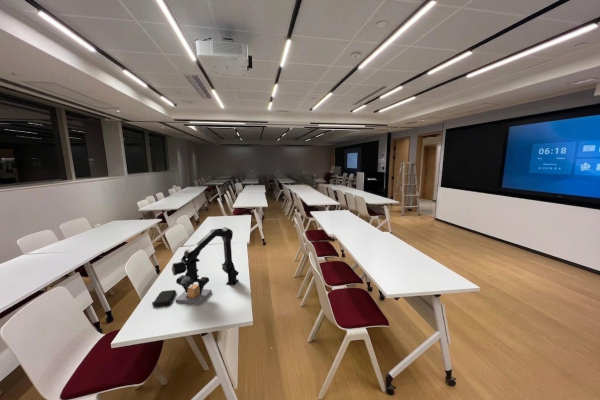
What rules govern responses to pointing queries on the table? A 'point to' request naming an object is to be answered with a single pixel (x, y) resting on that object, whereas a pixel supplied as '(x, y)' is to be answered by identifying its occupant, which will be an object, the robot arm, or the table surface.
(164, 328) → the table surface
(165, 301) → the carrying case or bag
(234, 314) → the table surface
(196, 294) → the plug
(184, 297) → the socket board
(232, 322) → the table surface
